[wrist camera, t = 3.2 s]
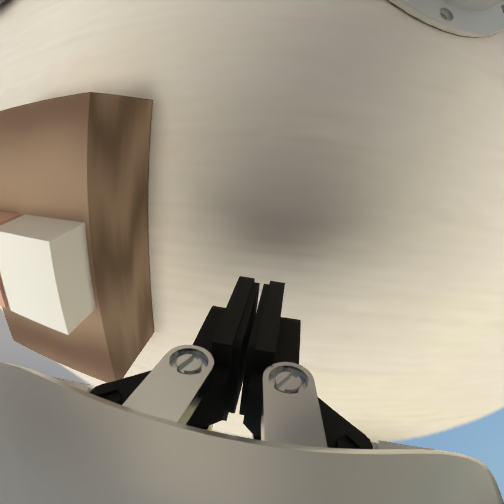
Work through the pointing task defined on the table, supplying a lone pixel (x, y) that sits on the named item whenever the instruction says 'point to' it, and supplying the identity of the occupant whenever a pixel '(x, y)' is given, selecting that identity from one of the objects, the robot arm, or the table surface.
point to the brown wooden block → (87, 217)
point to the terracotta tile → (3, 218)
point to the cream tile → (47, 271)
